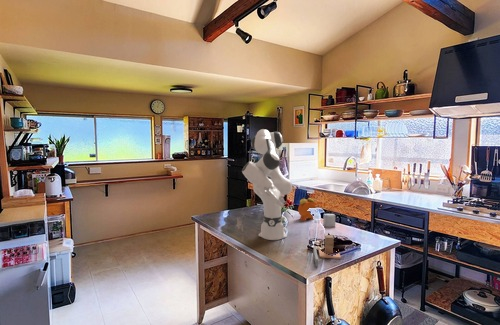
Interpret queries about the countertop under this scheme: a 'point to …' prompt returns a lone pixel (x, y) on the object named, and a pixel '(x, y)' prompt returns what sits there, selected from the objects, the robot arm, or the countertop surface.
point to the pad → (324, 255)
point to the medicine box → (329, 220)
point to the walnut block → (329, 243)
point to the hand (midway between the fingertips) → (283, 204)
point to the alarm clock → (305, 208)
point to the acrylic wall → (315, 256)
